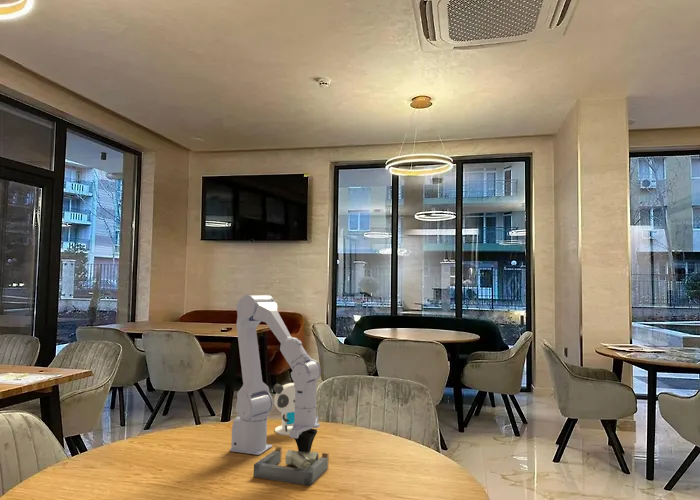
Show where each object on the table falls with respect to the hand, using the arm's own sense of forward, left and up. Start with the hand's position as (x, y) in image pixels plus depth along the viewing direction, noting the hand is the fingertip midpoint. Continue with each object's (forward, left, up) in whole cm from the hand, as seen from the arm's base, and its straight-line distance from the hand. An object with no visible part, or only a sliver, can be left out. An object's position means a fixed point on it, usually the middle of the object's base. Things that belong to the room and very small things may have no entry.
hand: (304, 458), depth 129 cm
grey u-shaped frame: (0, -7, -1) cm, 7 cm away
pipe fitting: (+1, -4, -1) cm, 5 cm away
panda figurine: (-16, +25, -1) cm, 29 cm away
